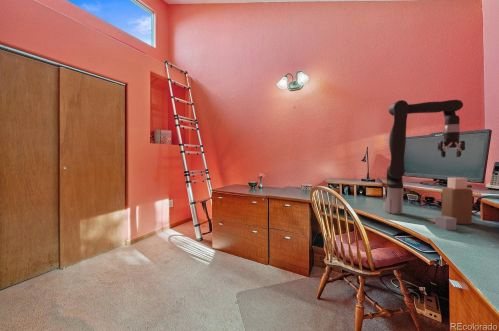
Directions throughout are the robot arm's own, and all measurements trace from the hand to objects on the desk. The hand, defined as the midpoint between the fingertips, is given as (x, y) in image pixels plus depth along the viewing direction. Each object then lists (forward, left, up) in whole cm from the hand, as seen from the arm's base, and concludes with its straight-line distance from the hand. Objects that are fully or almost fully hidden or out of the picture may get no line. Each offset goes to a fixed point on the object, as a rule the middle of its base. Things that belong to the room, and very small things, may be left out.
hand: (450, 157), depth 144 cm
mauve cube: (-21, -29, -38) cm, 52 cm away
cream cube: (-7, -16, -18) cm, 25 cm away
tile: (-18, -17, -38) cm, 45 cm away
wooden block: (-7, -16, -38) cm, 42 cm away
